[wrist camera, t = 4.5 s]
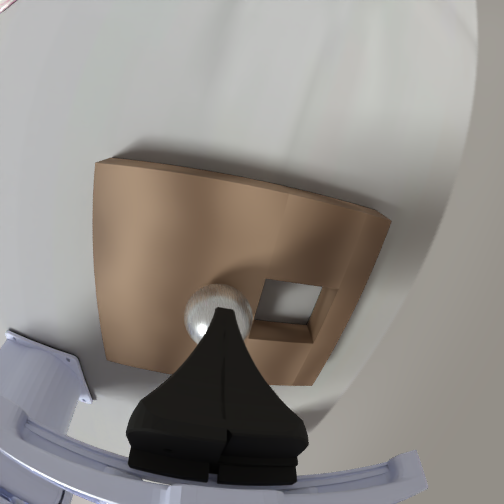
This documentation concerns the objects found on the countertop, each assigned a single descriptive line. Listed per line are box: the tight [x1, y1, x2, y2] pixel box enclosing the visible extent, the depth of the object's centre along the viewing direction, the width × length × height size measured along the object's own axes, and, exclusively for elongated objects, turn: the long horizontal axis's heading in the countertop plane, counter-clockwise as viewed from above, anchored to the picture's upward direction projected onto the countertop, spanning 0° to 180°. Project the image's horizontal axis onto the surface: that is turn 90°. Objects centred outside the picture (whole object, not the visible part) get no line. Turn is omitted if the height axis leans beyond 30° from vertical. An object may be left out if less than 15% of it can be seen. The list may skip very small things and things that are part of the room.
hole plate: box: [93, 158, 391, 386], centre depth 16 cm, size 16×14×2 cm
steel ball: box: [184, 284, 253, 344], centre depth 14 cm, size 4×4×4 cm
